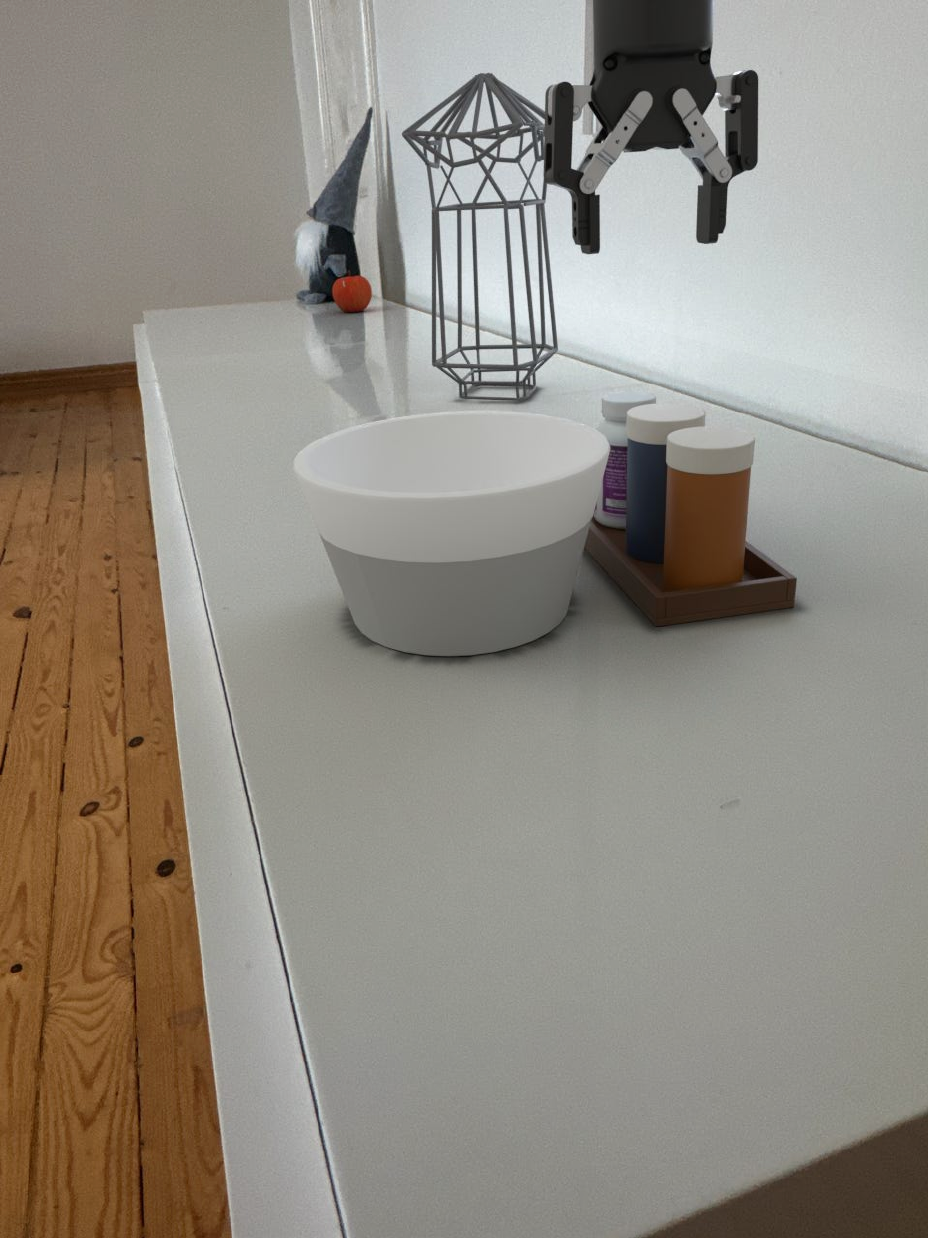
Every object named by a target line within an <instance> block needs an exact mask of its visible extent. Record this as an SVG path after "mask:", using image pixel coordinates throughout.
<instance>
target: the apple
mask: <svg viewBox="0 0 928 1238" xmlns="http://www.w3.org/2000/svg"><path fill="white" fill-rule="evenodd" d="M347 273H348V276H345V277H340V278H338V279H336V280H335V282H334V283H333V285H332V298H333V301H334V303H335V305H336V306H337V307H338V308H339V310H341V311H342V312H344V313H353V314H354V313H359V312H362V311H364V310H366V309H367V308H368V306H369V304H370V303H371V300H372V298H373V297H372V295H373V290H372V286H371V284H370V282H369V281H368V279H367V278H366V277H365V276H363V275H355V276H351V270H350V269H348V270H347Z"/></svg>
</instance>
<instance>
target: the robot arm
mask: <svg viewBox="0 0 928 1238" xmlns="http://www.w3.org/2000/svg"><path fill="white" fill-rule="evenodd" d="M714 16H715V0H592V45H593V46H592V50H593V51H592V52H593V53H592V55H593V58H592V60H593V72H592V77H591V80H590V82H589V84H588V85H587V84H585V85H584V84H583V85H582V84H572V83H571V82H569V81H560V82H558V83H554V84H550V85H549V86H548V87H547V88H546V90H545V95H544V97H545V98H544V100H545V101H544V102H545V103H544V111H545V120H544V124H545V133H544V160H543V176H542V177H543V180H545V182H546V183H547V185H550V186H555V187H557V188H560V189H563V190H565V191H567V192H568V193H569V195H570V198H571V222H572V223H571V228H572V229H571V230H572V231H571V236H572V240H573V242H574V244H575V245H576V246H580V251H581V253H582V254H584V255H595V254H597V255H598V254H599V253H600V251H601V214H600V213H601V195H600V194H596V190H597V189H598V187H599V186H600V184H601V182H602V180H603V179H604V177H606V174H607V172H608V171H609V169H611V167H612V166H613V165H614V164H615V163H616V162H617V160H618V159H619V158H620V156H621V154H622V153H640V152H647V151H649V150H655V151H662V150H663V151H665V150H677V149H678V150H679V151H680V152H681V154H682V155H683V156H684V157H685V158H686V159H688V161H690V163H691V164H692V166H693V168H694V169H695V171H696V172H697V173H698V175H699V177H700V178H701V179H702V184H700V185H697V195H696V196H697V197H696V198H697V199H696V200H697V201H696V228H695V230H696V231H695V238H696V242H697V243H698V244H704V245H710V244H717V243H718V241H719V235H720V234H721V235H722V234H724V231H725V229H726V226H727V211H728V209H727V208H728V193H729V191H728V190H729V189H728V188H729V184H730V182H731V180H732V179H733V178H735V177H736V176H739V175H740V174H742V173H744V172H747V171H748V172H749V171H753V170H754V169H755V168H756V166H757V165H758V162H759V74H758V73H757V72H756V71H755V70H754V69H745V70H740V71H736V72H733V73H730V74H728V75H721V76H715V73H714V71H713V67H712V62H711V61H712V59H711V58H712V51H713V43H714V18H715V17H714ZM715 97H716V98H717V101H718V105H719V108H720V109H721V110H722V111H724V130H725V131H724V132H725V133H724V135H725V136H724V140H725V143H724V145H725V146H724V147H725V150H724V152H725V155H724V153H723V152H722V150H721V148H720V147H719V140H718V139H717V137H716V135H715V134H714V132H713V130H712V129H711V128H710V126H709V124H708V123H707V121H706V119H705V118H704V114H705V113H706V111H707V109H708V107H710V104H711V103H712V101H713V99H714V98H715ZM586 104H587V105H588V107H589V109H590V111H591V112H592V113H593V115H594V116H595V118H596V119H597V121H598V122H599V124H600V126H599V128H598V130H597V131H596V133H595V135H594V136H593V138H592V140H591V141H590V143H589V145H588V146H587V148H586V149H585V151H584V155H583V158H582V159H581V161H580V163H579V165H578V166H577V168H576V169H574V168H572V161H573V134H574V133H573V132H574V122H576V121H578V120H579V119H580V118H581V116H582V113H583V108H584V107H585V105H586Z"/></svg>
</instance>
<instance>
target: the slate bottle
mask: <svg viewBox="0 0 928 1238" xmlns="http://www.w3.org/2000/svg"><path fill="white" fill-rule="evenodd" d="M706 413H707V412H706V410H705V409H704V408H702V407H700V406H697V405H693V404H687V403H678V402H659V403H658V402H656V404H647V405H641V406H637V407H634V408H632V409H630V410H628V412H627V423H626V435H627V437H628V449H627V501H626V552H627V554H628V555H629V556H631V557H633V558H635V559H638V560H641V561H645V562H651V563H664V545H665V519H666V492H667V466H668V465H667V463H666V448H667V436H668V435H669V434H670V433H672V432H674V431H677V430H680V429H685V428H691V427H703V426H706V415H707V414H706Z"/></svg>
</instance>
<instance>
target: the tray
mask: <svg viewBox="0 0 928 1238" xmlns="http://www.w3.org/2000/svg"><path fill="white" fill-rule="evenodd" d="M584 549H585V550H586V551H587V553H589V555H590V556H591V557H592V559H594V560H595V561H596V562H597V563H598V565H600V567H601V568H602V569H603V570H604V571H605V572H606V574H608V576H609V577H610V578H611V579H612V580H613V581H614V582H615V583H616V584H617V585H618V587H619V588H620V589H621V590H622V591H623V592H624V593H625V594H626V595H627V597H629V599H630V600H631V601H632V602H633V603H634V604H635V605H636V606H637V607H638V609H639V610H640V611H641V612H642V613H643V614H644V615H645V616H646V617H647V618H648V619H649V620H650V622H651V623H652V624H653V625H654V626H655V627H663V626H670V625H677V624H685V623H693V622H699V621H705V620H713V619H718V618H726V617H734V616H740V615H746V614H755V613H760V612H761V613H763V612H768V611H774V610H782V609H783V610H784V609H789V608H794V607H795V599H796V591H797V583H798V578H797V577H796V576H794V575H793V574H792V573H791V572H789V571H788V570H786V569H785V568H783V567H782V566H781V565H780V564H778V563H777V562H776V561H774V560H773V559H771V558H770V557H769V556H767V554H764V553H763V552H762V551H760V550H759V549H758V548H756V547H755V546H753V545H752V544H751V543H749V541H747V540H746V542H745V555H744V568H743V581H742V582H737V583H730V584H722V585H715V586H708V587H701V588H693V589H686V590H679V591H671V592H665V590H664V588H663V572H664V563H651V562H645V561H641V560H638V559H635V558H633V557H631V556H629V555H628V554H627V552H626V529H616V528H609V527H605V526H603V525H601V524H599V523H598V522H597V521H596V520H595V518H594V514H593V517H592V519H591V523H590V526H589V530H588V534H587V538H586V542H585V546H584Z"/></svg>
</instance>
